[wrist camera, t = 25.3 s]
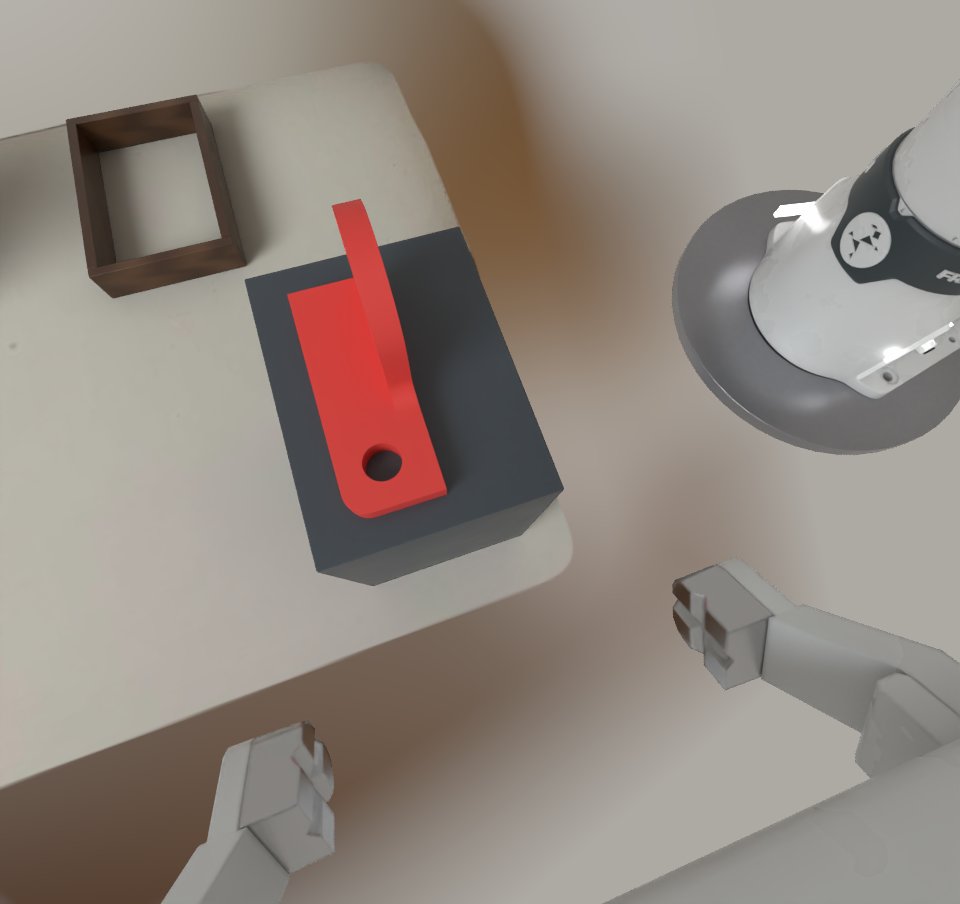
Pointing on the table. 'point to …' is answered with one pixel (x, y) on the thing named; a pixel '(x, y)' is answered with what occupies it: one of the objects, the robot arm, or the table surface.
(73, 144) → the open rectangular wooden frame
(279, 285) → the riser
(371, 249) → the bracket
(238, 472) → the table surface
